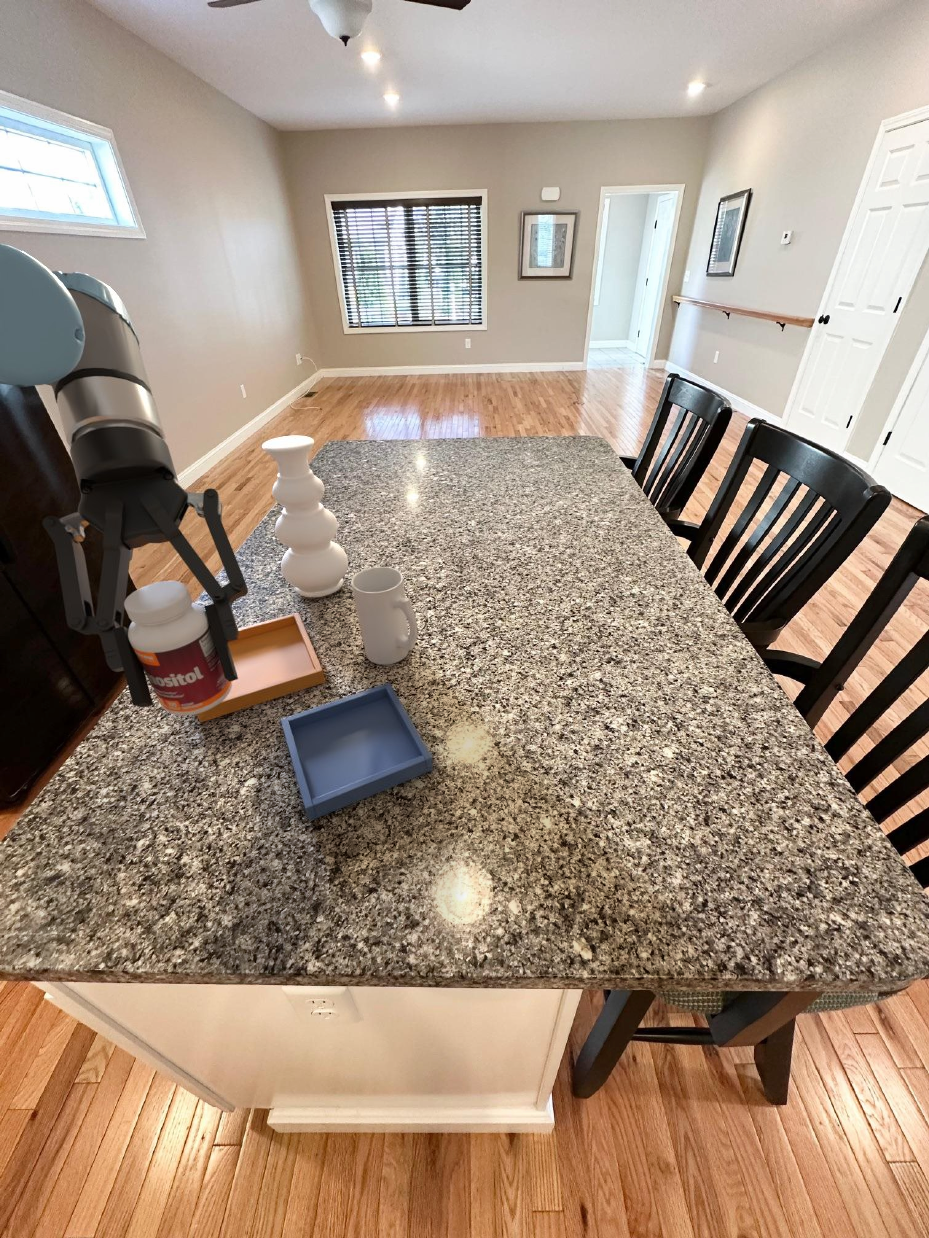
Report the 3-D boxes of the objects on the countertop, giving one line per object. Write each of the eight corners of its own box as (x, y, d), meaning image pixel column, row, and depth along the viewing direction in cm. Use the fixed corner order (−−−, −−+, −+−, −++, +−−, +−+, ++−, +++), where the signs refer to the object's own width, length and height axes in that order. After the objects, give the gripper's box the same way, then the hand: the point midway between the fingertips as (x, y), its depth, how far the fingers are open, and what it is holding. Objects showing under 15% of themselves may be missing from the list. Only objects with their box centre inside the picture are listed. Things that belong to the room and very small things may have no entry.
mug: (354, 653, 73) (340, 581, 67) (389, 631, 78) (379, 561, 71) (402, 683, 68) (392, 608, 61) (437, 658, 72) (431, 585, 65)
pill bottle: (151, 721, 45) (95, 619, 39) (178, 674, 50) (133, 577, 44) (222, 716, 45) (178, 614, 39) (242, 670, 51) (206, 573, 44)
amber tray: (200, 722, 63) (194, 710, 62) (193, 653, 75) (188, 641, 73) (325, 682, 69) (322, 670, 67) (301, 623, 80) (298, 612, 79)
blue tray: (309, 821, 51) (305, 808, 50) (284, 731, 61) (280, 719, 60) (433, 769, 56) (432, 757, 55) (391, 694, 66) (389, 682, 65)
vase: (312, 568, 95) (280, 428, 80) (363, 577, 91) (340, 433, 77) (274, 598, 86) (231, 448, 72) (329, 610, 83) (296, 455, 69)
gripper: (237, 451, 53) (303, 663, 50) (14, 485, 46) (76, 731, 43) (227, 407, 46) (303, 650, 43) (-38, 440, 39) (32, 730, 36)
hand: (188, 690), depth 43 cm, fingers closed on pill bottle, 6 cm apart
